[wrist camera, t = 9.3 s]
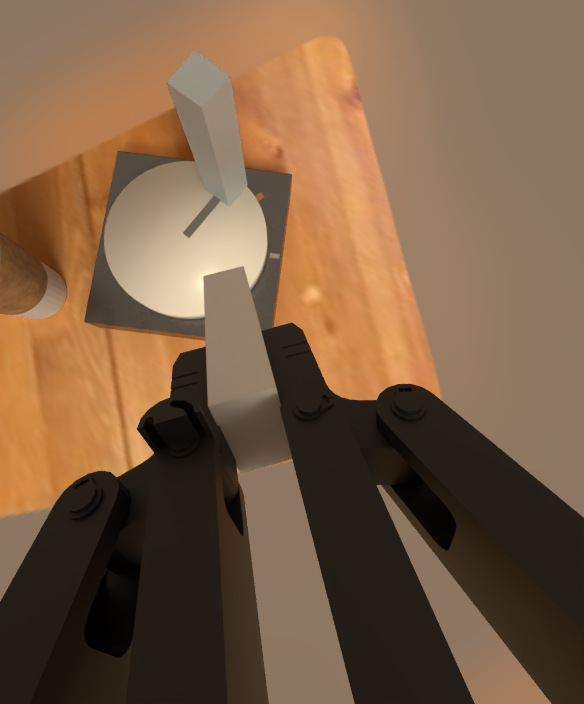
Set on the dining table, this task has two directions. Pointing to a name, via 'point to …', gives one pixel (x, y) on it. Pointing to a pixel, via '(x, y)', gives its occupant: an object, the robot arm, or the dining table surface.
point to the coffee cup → (28, 284)
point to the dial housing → (130, 315)
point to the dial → (189, 205)
